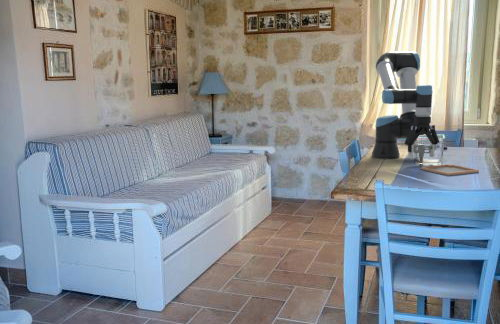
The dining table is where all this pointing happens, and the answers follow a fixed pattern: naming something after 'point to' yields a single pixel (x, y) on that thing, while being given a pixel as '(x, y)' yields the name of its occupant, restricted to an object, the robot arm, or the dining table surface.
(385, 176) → the dining table surface
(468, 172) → the wooden square frame
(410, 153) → the robot arm
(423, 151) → the mechanical component
